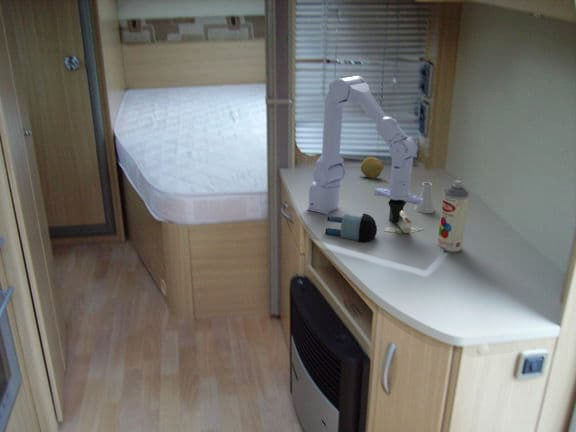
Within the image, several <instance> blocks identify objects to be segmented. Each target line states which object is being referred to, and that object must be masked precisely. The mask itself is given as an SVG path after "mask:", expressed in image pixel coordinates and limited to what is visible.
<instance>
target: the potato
mask: <svg viewBox="0 0 576 432" xmlns="http://www.w3.org/2000/svg"><path fill="white" fill-rule="evenodd" d="M383 170H384V165H383V162H382V161H381V160H380V159H378V158H376V157H374V156H373V157H372V156H368V157H365V159H363V161H362V162H361V165H360V172H361V173H362V174H363V175H364V176H365V177H367V178H370V179H376V178H378V177H379V176H381V174H382V172H383Z"/></svg>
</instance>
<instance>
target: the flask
mask: <svg viewBox="0 0 576 432" xmlns="http://www.w3.org/2000/svg"><path fill="white" fill-rule="evenodd" d="M421 185H422V187H421V188H422V190H421V193H420V195H419V197H421V198H424V200H423V205H421V206H417V204H415V205H414V207H413V209H414V210H415V211H416V212H418V213H423V214H433V213H434V212H435V206H434V202H433V198H432V190H431V189H432V186H433V184H432V183H431V182H425V181H424V182H422V183H421Z"/></svg>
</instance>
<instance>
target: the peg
mask: <svg viewBox="0 0 576 432" xmlns="http://www.w3.org/2000/svg"><path fill="white" fill-rule="evenodd" d="M388 217H389V218H388V220H389V222H392V219H393V214H392V211H391V208H390V207H389V216H388ZM412 222H413V221H412V220H411V219H410V218H409V217H408V215H407V214H406V213H405V212H404V208H403V209H402V210H401V212H400V217H399V222H398V223H397V224H396V225H397V226H398V227H399V229H402V230H403V232H404V233H403V234H411V233H410V232H411V227H412Z"/></svg>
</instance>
